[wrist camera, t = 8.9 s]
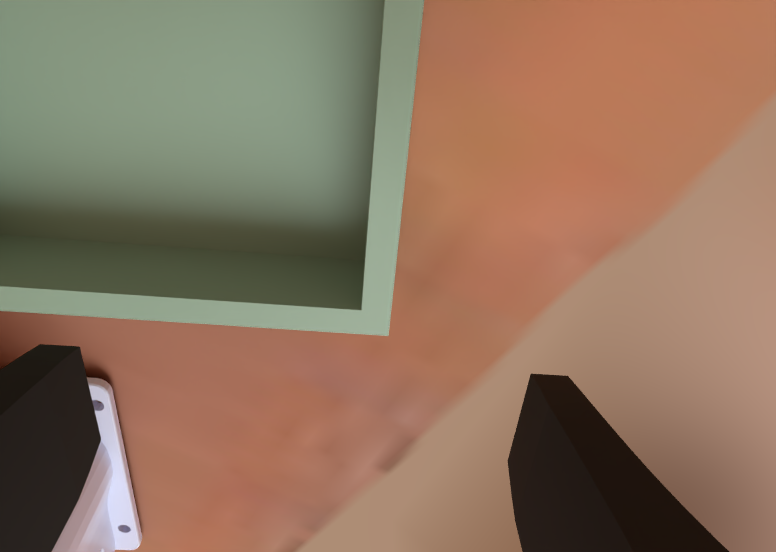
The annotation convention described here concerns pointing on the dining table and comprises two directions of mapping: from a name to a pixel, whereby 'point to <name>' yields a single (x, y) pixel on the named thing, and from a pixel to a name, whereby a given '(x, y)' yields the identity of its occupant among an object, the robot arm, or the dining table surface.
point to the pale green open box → (206, 159)
